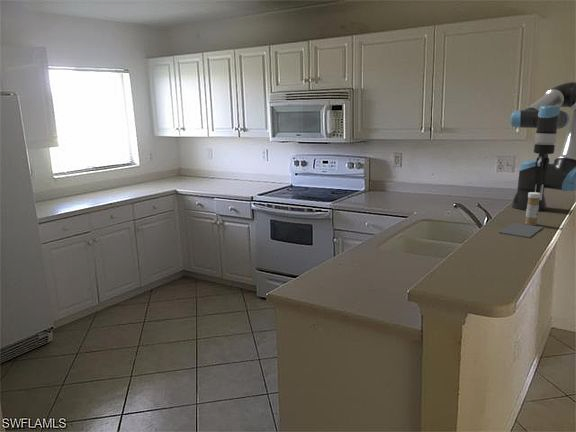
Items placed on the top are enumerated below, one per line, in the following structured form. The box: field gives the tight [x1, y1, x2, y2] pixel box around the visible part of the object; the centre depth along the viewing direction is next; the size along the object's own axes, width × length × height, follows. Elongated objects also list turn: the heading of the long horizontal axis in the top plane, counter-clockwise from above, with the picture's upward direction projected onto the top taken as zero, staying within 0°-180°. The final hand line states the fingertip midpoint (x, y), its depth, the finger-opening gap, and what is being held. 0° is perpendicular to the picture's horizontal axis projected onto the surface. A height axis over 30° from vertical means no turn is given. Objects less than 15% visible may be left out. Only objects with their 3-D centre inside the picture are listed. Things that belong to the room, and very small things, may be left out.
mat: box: [498, 222, 544, 239], centre depth 191 cm, size 20×11×1 cm, turn 140°
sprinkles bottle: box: [524, 192, 540, 226], centre depth 200 cm, size 5×5×13 cm
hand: (537, 199), depth 205 cm, fingers closed
